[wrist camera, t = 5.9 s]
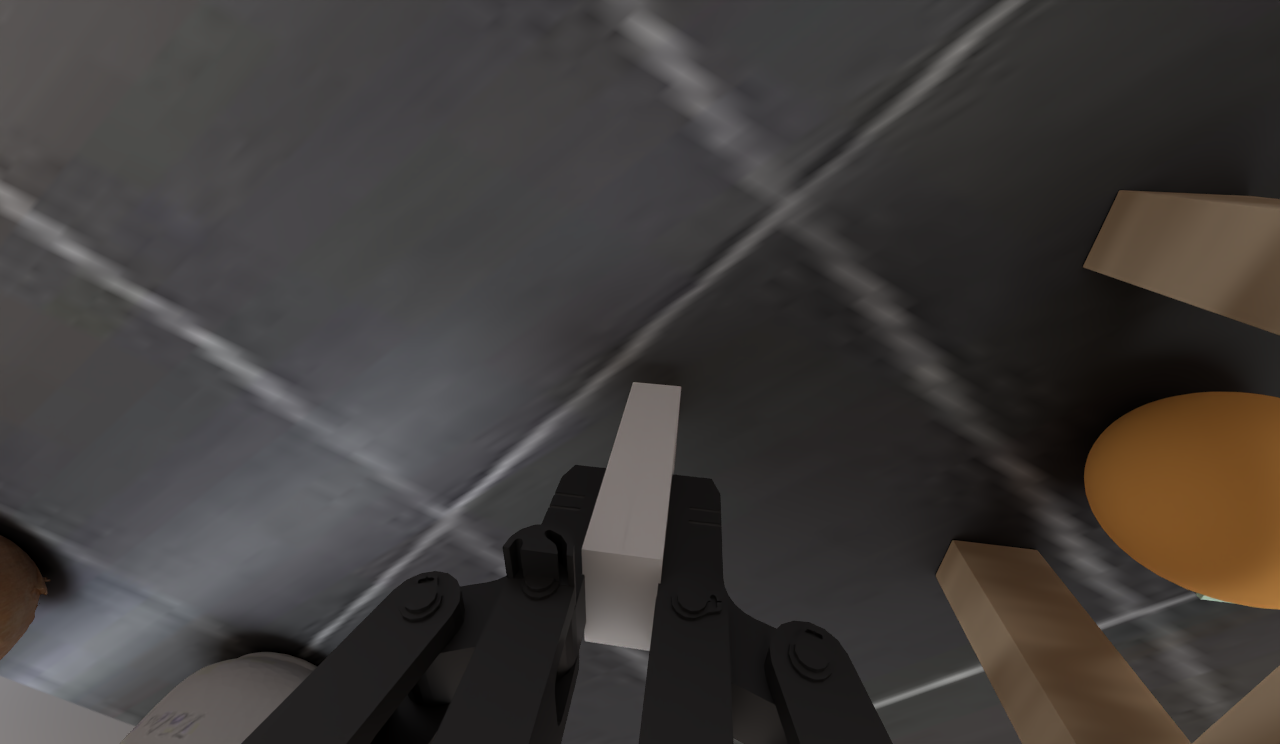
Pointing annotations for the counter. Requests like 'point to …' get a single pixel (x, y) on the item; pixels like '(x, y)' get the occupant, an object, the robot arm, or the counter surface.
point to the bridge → (1022, 579)
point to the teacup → (222, 701)
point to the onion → (17, 593)
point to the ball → (1195, 492)
